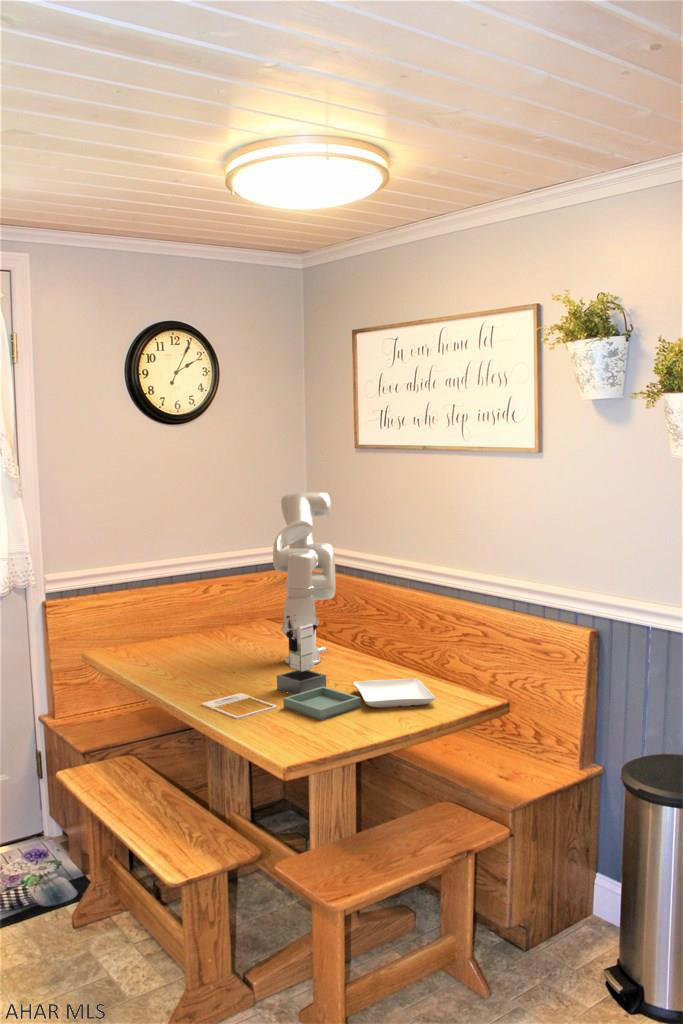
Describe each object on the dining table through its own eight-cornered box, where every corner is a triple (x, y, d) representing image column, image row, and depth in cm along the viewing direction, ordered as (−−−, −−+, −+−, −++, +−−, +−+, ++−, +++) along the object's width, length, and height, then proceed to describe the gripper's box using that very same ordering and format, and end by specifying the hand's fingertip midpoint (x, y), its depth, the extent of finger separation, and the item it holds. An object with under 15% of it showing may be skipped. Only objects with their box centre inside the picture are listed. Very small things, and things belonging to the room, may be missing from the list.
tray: (323, 695, 263) (323, 686, 263) (360, 707, 251) (360, 697, 251) (283, 708, 252) (283, 698, 251) (320, 720, 240) (320, 710, 240)
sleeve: (302, 682, 278) (302, 668, 277) (326, 689, 270) (326, 675, 269) (276, 689, 270) (276, 675, 270) (300, 696, 262) (299, 682, 262)
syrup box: (314, 668, 270) (313, 623, 268) (300, 672, 266) (300, 626, 264) (301, 664, 274) (301, 620, 272) (288, 668, 270) (287, 623, 268)
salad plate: (417, 687, 272) (417, 676, 272) (436, 708, 251) (436, 696, 251) (352, 691, 268) (352, 680, 268) (365, 713, 248) (365, 701, 247)
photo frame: (241, 692, 265) (277, 705, 252) (241, 695, 265) (277, 709, 252) (201, 702, 255) (236, 716, 242) (201, 706, 256) (236, 720, 242)
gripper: (312, 586, 276) (313, 641, 278) (271, 594, 264) (272, 651, 266) (328, 589, 270) (329, 645, 273) (287, 598, 259) (288, 656, 261)
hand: (300, 648), depth 269 cm, fingers closed on syrup box, 5 cm apart
